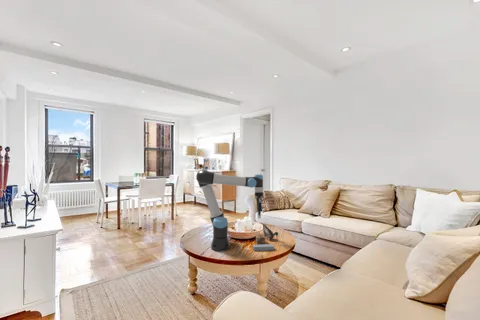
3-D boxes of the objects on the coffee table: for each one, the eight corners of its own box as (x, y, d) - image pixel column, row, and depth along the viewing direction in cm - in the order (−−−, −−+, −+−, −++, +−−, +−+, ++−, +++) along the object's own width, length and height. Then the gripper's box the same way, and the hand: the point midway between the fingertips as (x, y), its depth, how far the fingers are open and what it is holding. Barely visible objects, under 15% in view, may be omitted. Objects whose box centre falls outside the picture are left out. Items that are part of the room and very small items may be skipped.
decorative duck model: (281, 236, 207) (275, 219, 211) (277, 238, 201) (270, 221, 205) (268, 240, 215) (262, 224, 219) (263, 242, 209) (257, 226, 213)
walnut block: (257, 244, 197) (257, 237, 197) (255, 242, 204) (255, 235, 204) (265, 244, 197) (265, 237, 197) (263, 241, 204) (263, 234, 204)
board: (253, 250, 183) (253, 247, 183) (252, 248, 188) (252, 244, 188) (273, 250, 184) (273, 246, 184) (272, 247, 189) (272, 244, 189)
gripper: (264, 192, 203) (264, 219, 203) (261, 190, 216) (262, 216, 216) (255, 192, 203) (256, 220, 203) (253, 190, 216) (254, 216, 216)
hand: (259, 218), depth 209 cm, fingers closed
